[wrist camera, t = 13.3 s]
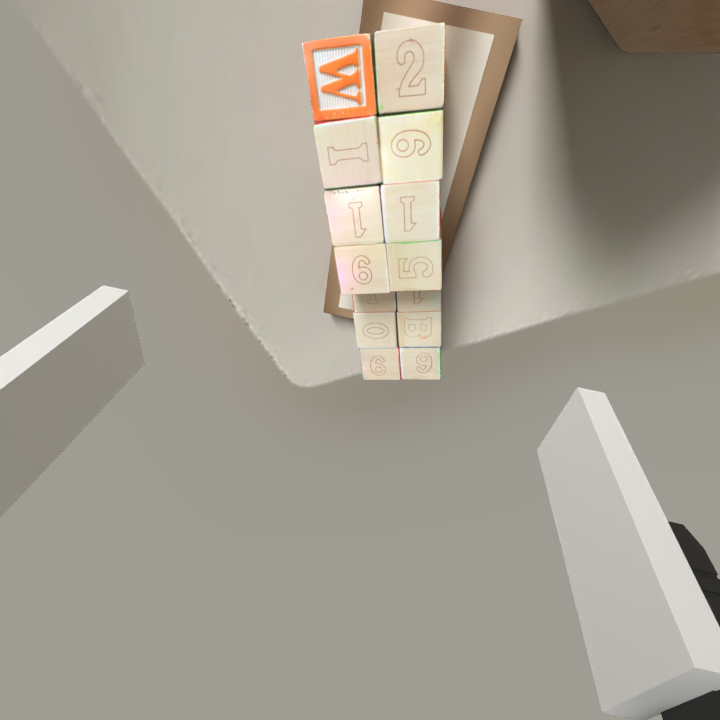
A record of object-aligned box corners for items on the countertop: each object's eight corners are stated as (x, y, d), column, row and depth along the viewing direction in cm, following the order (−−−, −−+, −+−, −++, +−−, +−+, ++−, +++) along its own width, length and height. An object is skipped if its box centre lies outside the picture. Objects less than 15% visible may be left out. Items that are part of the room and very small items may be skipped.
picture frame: (517, 21, 27) (522, 19, 25) (423, 323, 42) (423, 334, 40) (369, -10, 27) (365, -14, 26) (327, 302, 42) (323, 312, 40)
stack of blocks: (439, 319, 39) (441, 409, 29) (374, 320, 40) (354, 407, 30) (442, 32, 26) (447, 17, 16) (347, 45, 27) (298, 39, 18)
